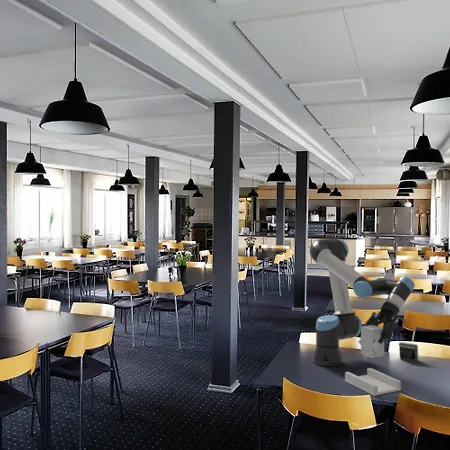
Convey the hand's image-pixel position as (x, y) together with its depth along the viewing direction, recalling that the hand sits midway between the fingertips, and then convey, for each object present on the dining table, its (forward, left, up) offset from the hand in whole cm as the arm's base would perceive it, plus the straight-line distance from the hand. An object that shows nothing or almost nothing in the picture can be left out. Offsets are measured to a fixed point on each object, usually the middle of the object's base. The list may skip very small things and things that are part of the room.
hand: (367, 345), depth 204 cm
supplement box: (0, +3, -5) cm, 6 cm away
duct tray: (0, +3, -18) cm, 19 cm away
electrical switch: (-16, +47, -19) cm, 53 cm away
